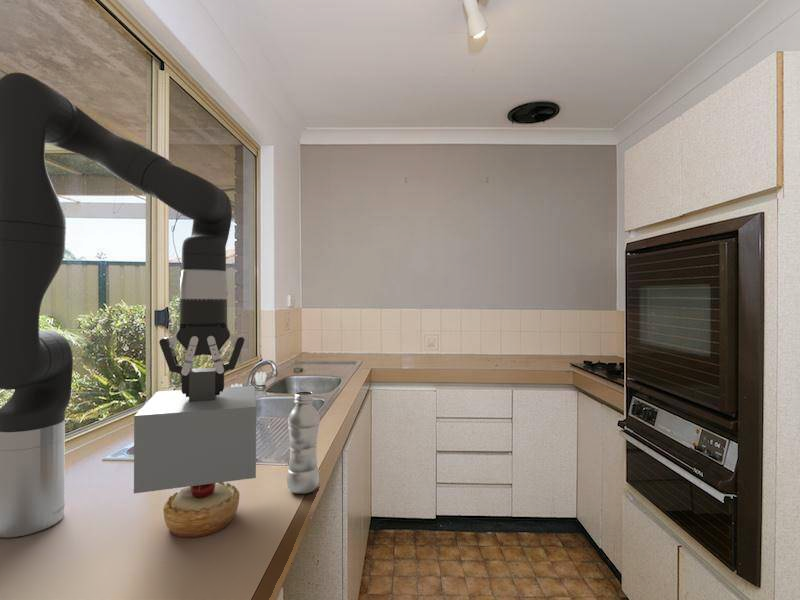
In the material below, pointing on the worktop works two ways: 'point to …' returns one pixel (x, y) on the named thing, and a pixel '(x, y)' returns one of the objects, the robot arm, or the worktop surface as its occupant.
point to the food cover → (195, 436)
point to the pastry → (201, 509)
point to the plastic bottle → (303, 445)
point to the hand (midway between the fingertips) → (203, 394)
